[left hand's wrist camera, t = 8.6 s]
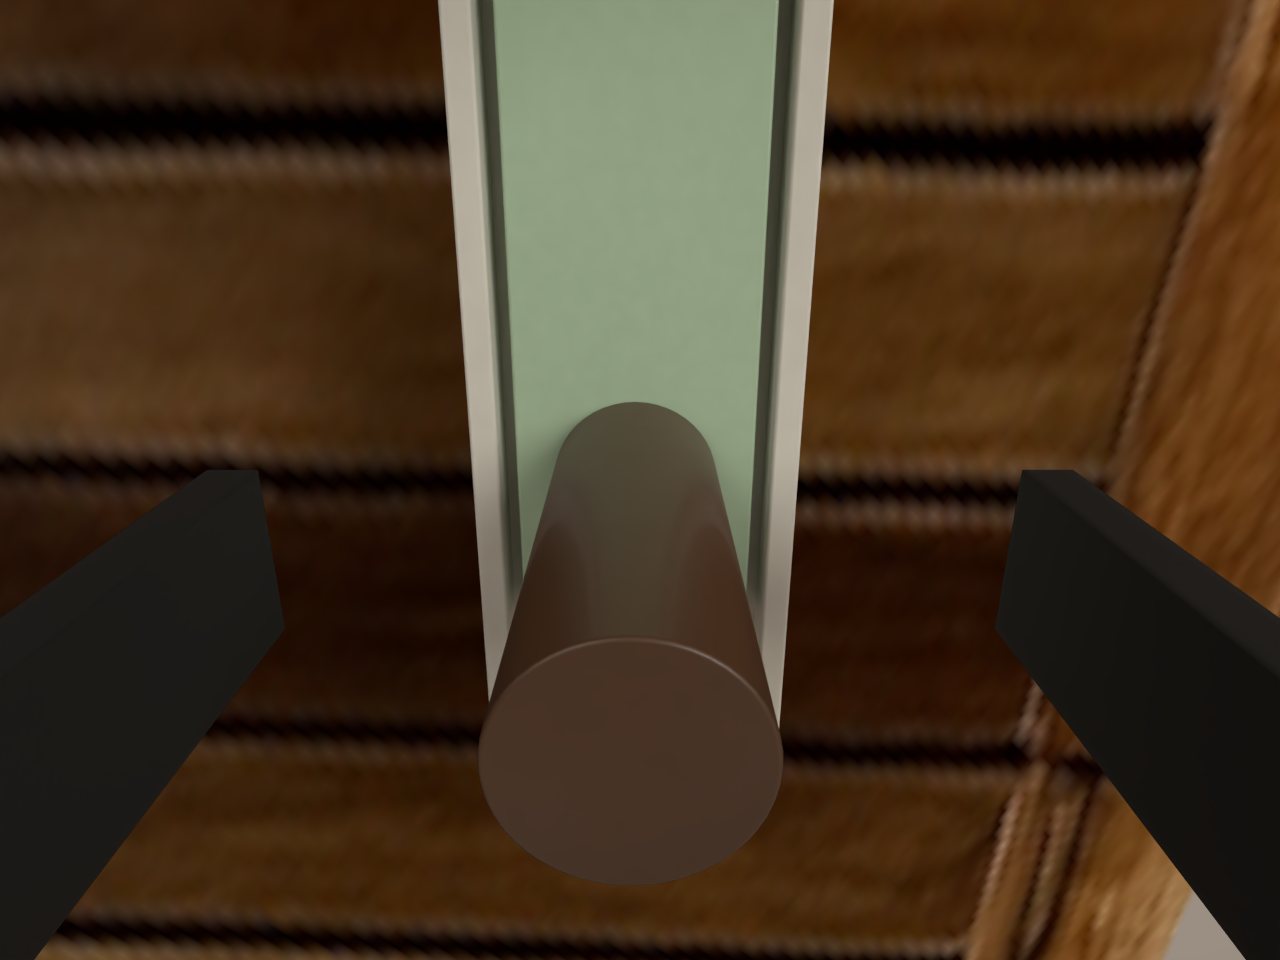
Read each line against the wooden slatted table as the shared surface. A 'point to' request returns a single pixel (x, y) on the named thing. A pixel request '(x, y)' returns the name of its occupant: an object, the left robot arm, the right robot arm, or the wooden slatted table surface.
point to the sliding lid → (634, 433)
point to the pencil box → (781, 327)
